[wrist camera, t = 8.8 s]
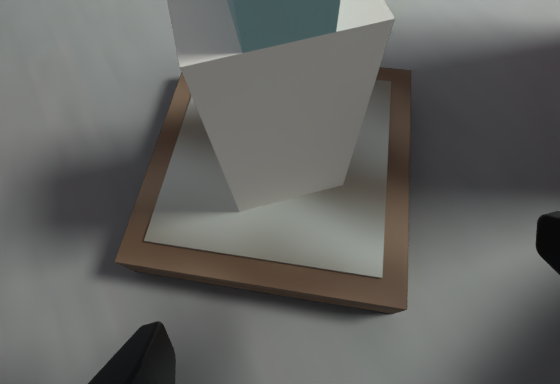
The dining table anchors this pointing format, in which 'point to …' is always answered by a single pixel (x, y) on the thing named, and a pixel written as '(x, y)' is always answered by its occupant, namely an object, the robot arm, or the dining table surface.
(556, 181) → the dining table surface
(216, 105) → the carton
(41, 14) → the dining table surface
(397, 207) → the wooden tray
